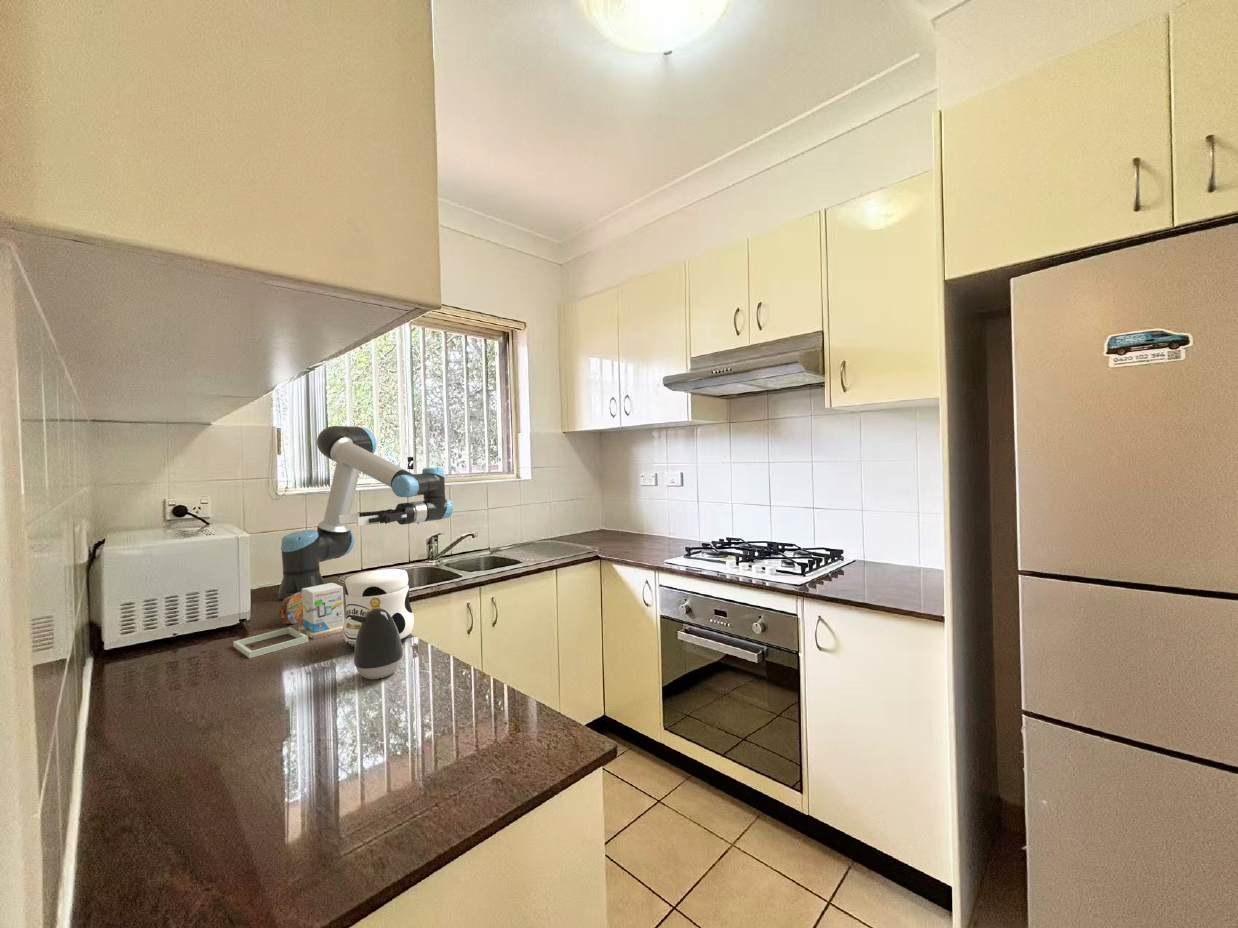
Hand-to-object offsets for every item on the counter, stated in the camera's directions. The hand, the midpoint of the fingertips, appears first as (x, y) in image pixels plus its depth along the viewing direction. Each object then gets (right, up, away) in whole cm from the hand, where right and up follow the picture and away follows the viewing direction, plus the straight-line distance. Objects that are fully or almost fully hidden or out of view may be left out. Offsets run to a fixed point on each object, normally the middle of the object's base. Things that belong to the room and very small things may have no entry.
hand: (347, 520), depth 165 cm
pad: (+1, -30, -15) cm, 34 cm away
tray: (-7, -31, -25) cm, 41 cm away
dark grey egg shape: (+32, -30, -48) cm, 65 cm away
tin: (-13, -31, -4) cm, 34 cm away
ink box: (+1, -30, -15) cm, 33 cm away
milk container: (+23, -30, -26) cm, 46 cm away
